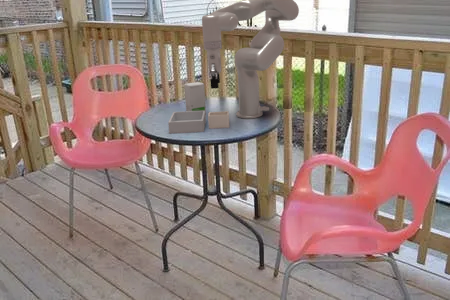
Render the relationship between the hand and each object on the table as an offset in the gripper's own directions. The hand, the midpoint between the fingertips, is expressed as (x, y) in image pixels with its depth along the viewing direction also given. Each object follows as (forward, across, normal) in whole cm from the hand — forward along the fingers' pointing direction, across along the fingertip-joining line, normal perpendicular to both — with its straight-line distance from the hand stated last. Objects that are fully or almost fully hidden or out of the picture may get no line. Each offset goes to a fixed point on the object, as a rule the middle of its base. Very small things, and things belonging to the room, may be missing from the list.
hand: (215, 85), depth 186 cm
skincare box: (+19, +19, +12) cm, 29 cm away
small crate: (+18, 0, 0) cm, 19 cm away
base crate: (+18, 0, +14) cm, 23 cm away
